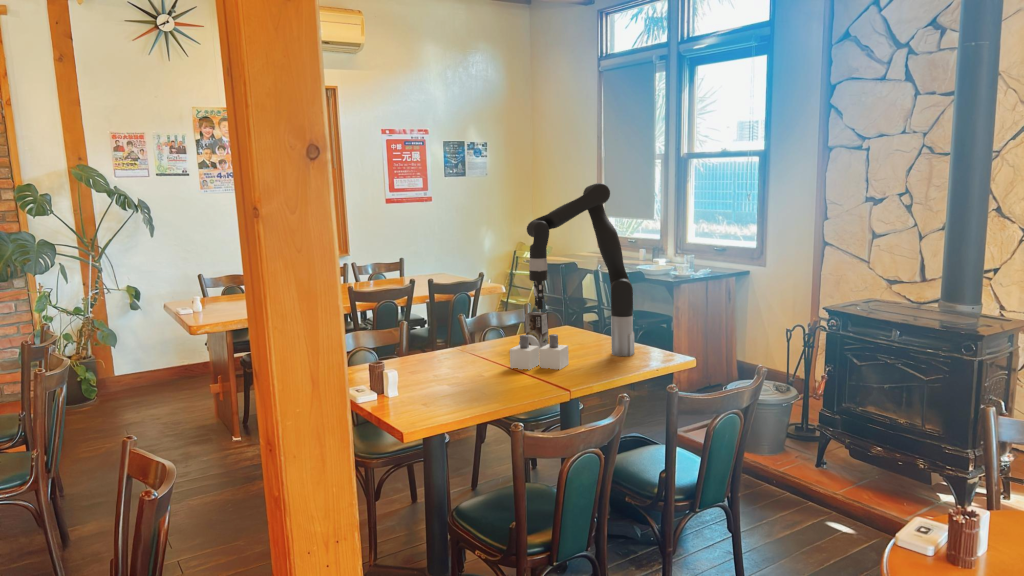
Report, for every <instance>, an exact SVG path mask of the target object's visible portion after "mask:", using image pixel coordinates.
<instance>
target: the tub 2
mask: <svg viewBox="0 0 1024 576" xmlns="http://www.w3.org/2000/svg"><path fill="white" fill-rule="evenodd" d="M548 336H549V344H547V345H545V346H543V347H542V348H540V349H539V368H540V367H541V368H540V369H548V368H550V369H549V370H558V369H559V371H560V370H562V369H563V368H565V367H568V366H569V365H570V361H569V345H564V344H559V335H558V334H556V333H555V334H554V333H553V334H551V333H550V334H548Z"/></svg>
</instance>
